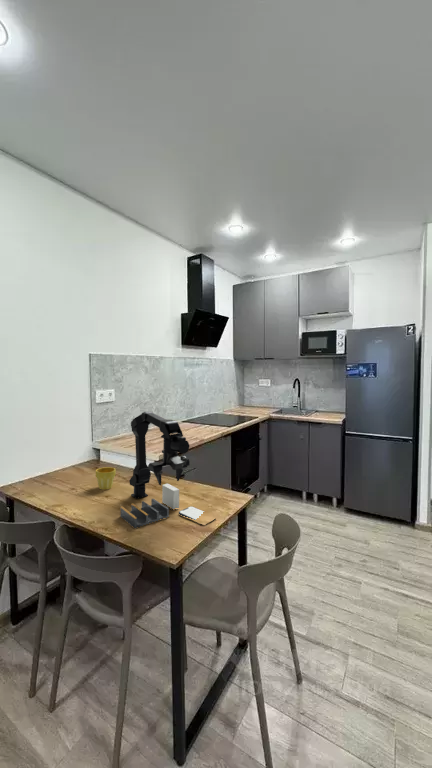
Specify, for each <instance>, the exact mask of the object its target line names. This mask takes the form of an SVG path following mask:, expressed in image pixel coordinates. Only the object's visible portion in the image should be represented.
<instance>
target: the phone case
mask: <svg viewBox="0 0 432 768" xmlns="http://www.w3.org/2000/svg"><path fill="white" fill-rule="evenodd" d="M203 512H205V511H204V510H201V509H199V508H197V507H196V506H195V507H194V506H192V505H191V506H188V507H186V508H184V509H181V510H179V511H178V515H179V514H180V515H182V516H185V517H188V518H191V519H194V520H196V519H197V518H199V516H201V514H203ZM180 515H179V516H180ZM182 516H181V517H182Z"/></svg>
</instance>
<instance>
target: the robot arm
mask: <svg viewBox="0 0 432 768" xmlns="http://www.w3.org/2000/svg"><path fill="white" fill-rule="evenodd" d="M150 425H153V426H156V427H157V428H158V429H159V432H161V433H162V435H161V436H160V438H161V439H163V447H162V450H161V454H162V455H163V456H162V459H161V462H162V463H159V462H158V461H154V462H149V463H148V465H147V447H146V446H147V444H146V435H147V433H148V432H149V426H150ZM130 428H131V432H132V433H133V435H134V436H135V438H134V441H135V466H134V467H133V469H132V470H133V471H132V476H131V477H130V478H129V480H128V481H129V482H128V483H129V485H130V486H132V487H133V493H131V494H130V495H131V497H133V498H135V499H136V500H137V499H141V498H145V497H148V496H149V494H147V493H146V484H149V483H150V481H151V476H152V473H153V474H154V476H155V478H156V480H157V483H158V485H159V486H162V474H163V471H162V470H163V468H168V467H170V468H171V469H172V470H174V471H175V476H176V481H177V482H179V481H180V480H181V479H180V478H181V476H182V473H183V471H184V470H185V469H186V468H188V466H189V467H190V465H191V461H190V459H189V458H187V456H185V455H183V454H186V453H188V451H189V449H190V443H189V442H188V440H187V437H185V436H184V434H183V431H182V430H181V427H180V424H179V422H178V421H177V420H173V419H168V418H167V419H166V418H164V417H161V416H160V415H158V414H156V413H154V412H153V411H151V410H149V411H143V412H142V413H141V414H139V415H138V416H136V417H134V418H132V420H131V422H130ZM179 453H180V454H182V455H183V456H179ZM151 472H152V473H151Z"/></svg>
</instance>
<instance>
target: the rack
mask: <svg viewBox="0 0 432 768" xmlns="http://www.w3.org/2000/svg"><path fill="white" fill-rule="evenodd" d="M150 504H151V505H149V504H148V503H147V502H145V501H144V500H142V501H141V507H139V506H137V505H136V504H134V503H131V504H130V505H131V507H130V508H131V509H130V510H128V509H127V508H125V507H124V506H123V505H121V506H120V514H119V515H120V518H122V520H124V521H125V522H126V523H127V522H128V525H130V527H132V526H133V527H134V528H136V529H138V528H137V527H139V528H141V527H140V526H142V527H144V526H143V525H145V526H147V525H146V524H148V525H150V524H149V523H151V524H153V523H152V522H154V523H156V522H155V521H157V522H159V521H158V520H160V519H163V518H166V519H168V518H167V517H170V508H169V507H168V506H166V505H164V504H163V503H162V502H159V501H158V500H157V499H155V498H151V502H150ZM163 520H164V519H163ZM160 521H161V520H160ZM133 527H132V528H133ZM134 528H133V529H134Z"/></svg>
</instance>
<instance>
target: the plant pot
mask: <svg viewBox="0 0 432 768" xmlns="http://www.w3.org/2000/svg"><path fill="white" fill-rule="evenodd" d="M116 472H117V471H116V468H115V467H112V466H110V467H109V466H106V467H100V468H97V469H96V470H95V478H96V480H97V485H98V489H99V490H105V491H106V490H109V489H112V488H113V483H114V479H115V476H116V474H117V473H116Z"/></svg>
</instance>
